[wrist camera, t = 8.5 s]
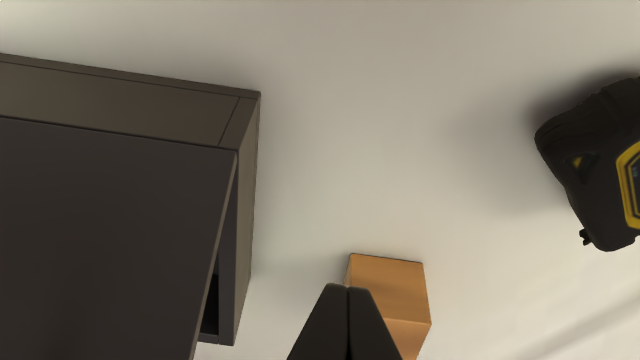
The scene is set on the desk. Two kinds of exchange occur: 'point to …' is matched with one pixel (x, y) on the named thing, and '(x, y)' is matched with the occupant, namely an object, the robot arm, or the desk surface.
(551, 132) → the tape measure
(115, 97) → the dark grey box
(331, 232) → the desk surface
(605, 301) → the desk surface
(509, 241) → the desk surface
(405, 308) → the orange-brown cube
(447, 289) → the desk surface
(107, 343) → the lid
